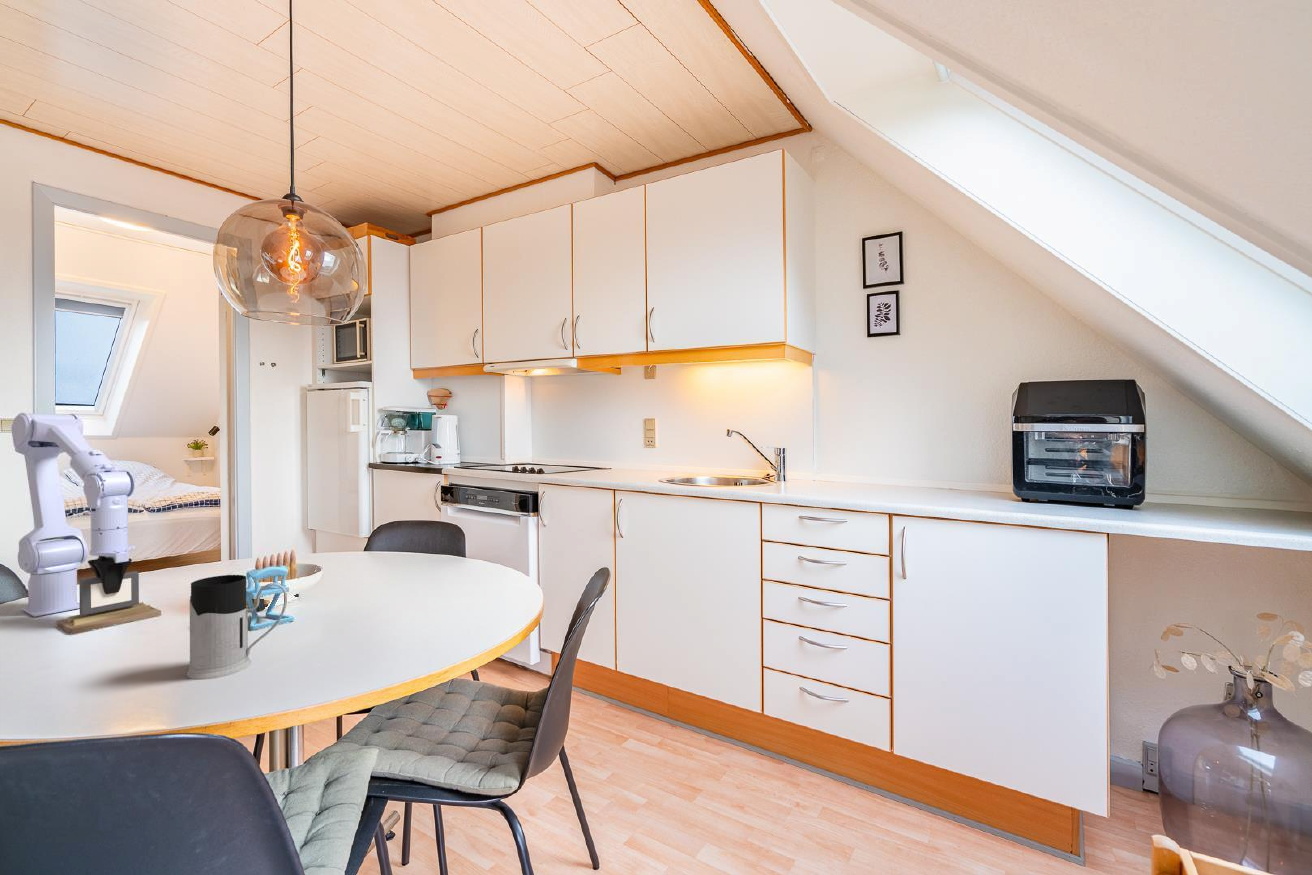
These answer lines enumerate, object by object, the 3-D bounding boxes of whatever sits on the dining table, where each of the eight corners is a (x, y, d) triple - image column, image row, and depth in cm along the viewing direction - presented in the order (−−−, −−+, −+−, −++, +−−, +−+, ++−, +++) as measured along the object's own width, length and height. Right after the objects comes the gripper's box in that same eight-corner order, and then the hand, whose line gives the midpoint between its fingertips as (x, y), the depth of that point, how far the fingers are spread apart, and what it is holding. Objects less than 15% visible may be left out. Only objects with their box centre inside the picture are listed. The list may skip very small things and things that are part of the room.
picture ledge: (56, 625, 118) (56, 615, 118) (143, 607, 130) (143, 599, 130) (72, 634, 113) (72, 624, 113) (161, 615, 125) (161, 606, 125)
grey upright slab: (79, 614, 118) (79, 580, 118) (136, 602, 126) (135, 571, 126) (82, 615, 118) (82, 581, 117) (139, 604, 125) (138, 572, 125)
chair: (280, 613, 127) (280, 559, 127) (294, 621, 122) (294, 564, 122) (239, 622, 121) (238, 565, 121) (251, 630, 116) (251, 571, 116)
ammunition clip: (257, 612, 128) (257, 558, 127) (251, 611, 128) (251, 558, 128) (299, 598, 138) (299, 549, 138) (293, 598, 138) (293, 548, 138)
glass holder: (198, 662, 100) (197, 576, 100) (292, 651, 105) (292, 569, 105) (177, 682, 92) (176, 589, 92) (280, 669, 97) (280, 581, 97)
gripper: (147, 528, 121) (147, 592, 121) (121, 522, 129) (122, 583, 129) (102, 533, 115) (102, 601, 115) (78, 527, 123) (78, 590, 123)
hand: (110, 592), depth 122 cm, fingers closed on grey upright slab, 2 cm apart
